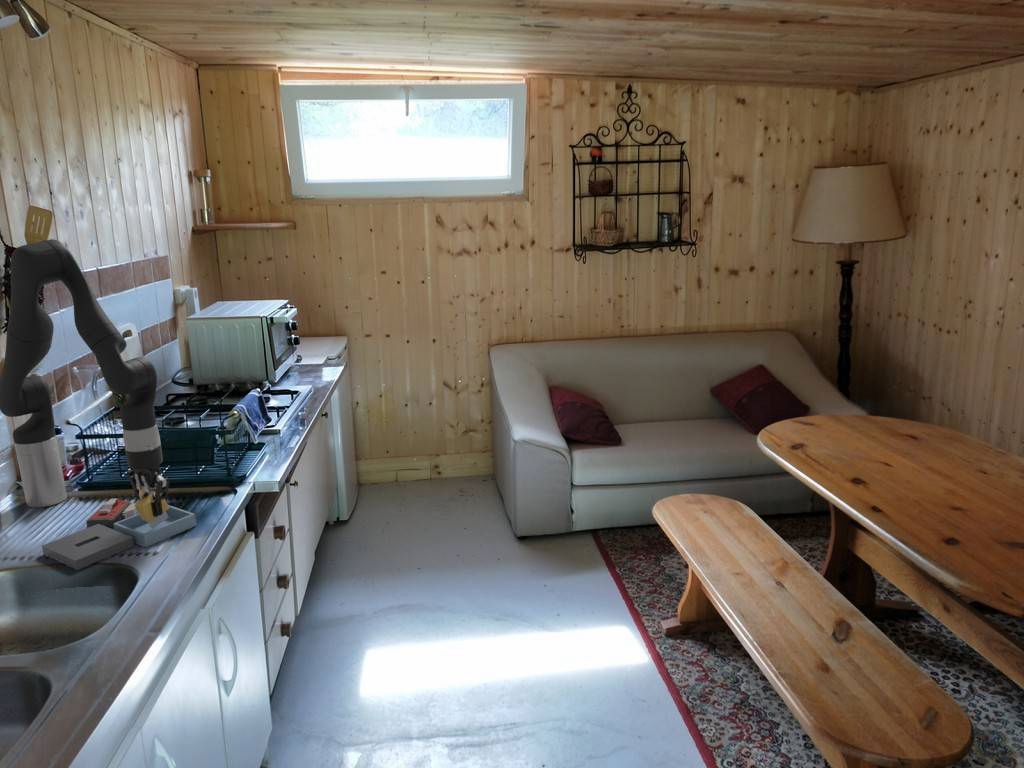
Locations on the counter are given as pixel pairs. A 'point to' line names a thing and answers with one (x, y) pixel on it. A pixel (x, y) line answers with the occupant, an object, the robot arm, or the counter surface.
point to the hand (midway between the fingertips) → (153, 513)
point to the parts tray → (167, 528)
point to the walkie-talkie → (112, 513)
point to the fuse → (146, 511)
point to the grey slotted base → (88, 546)
